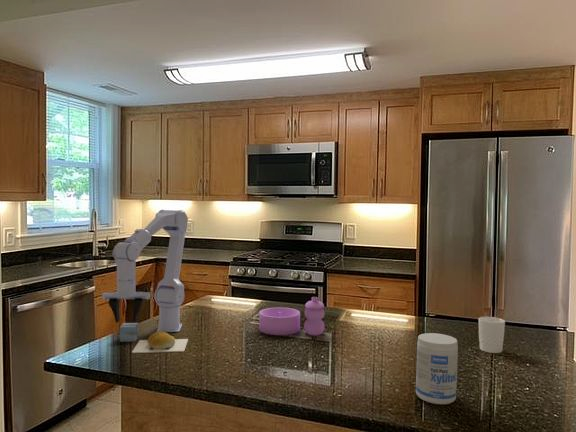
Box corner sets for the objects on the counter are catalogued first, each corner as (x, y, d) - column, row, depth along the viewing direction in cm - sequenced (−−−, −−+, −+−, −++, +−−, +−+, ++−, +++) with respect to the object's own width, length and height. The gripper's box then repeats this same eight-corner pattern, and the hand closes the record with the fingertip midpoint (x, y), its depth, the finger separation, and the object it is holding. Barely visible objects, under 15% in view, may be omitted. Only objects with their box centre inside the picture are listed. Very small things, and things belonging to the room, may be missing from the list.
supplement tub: (434, 408, 104) (435, 346, 103) (407, 392, 112) (408, 334, 112) (465, 401, 108) (466, 341, 107) (437, 386, 116) (438, 330, 116)
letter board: (139, 341, 151) (139, 340, 151) (188, 339, 153) (188, 338, 153) (131, 353, 139) (131, 352, 139) (184, 351, 141) (184, 350, 141)
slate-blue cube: (123, 337, 155) (123, 323, 155) (138, 337, 156) (138, 322, 155) (119, 341, 150) (119, 327, 150) (135, 341, 151) (135, 326, 151)
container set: (252, 332, 163) (252, 296, 162) (269, 322, 177) (269, 288, 177) (317, 340, 154) (318, 302, 153) (330, 329, 168) (330, 294, 167)
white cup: (483, 344, 152) (484, 315, 151) (507, 350, 146) (508, 319, 146) (473, 349, 146) (474, 319, 146) (498, 355, 140) (499, 324, 140)
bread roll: (156, 351, 140) (155, 338, 140) (144, 344, 146) (144, 332, 146) (180, 346, 145) (180, 333, 145) (167, 339, 152) (167, 327, 152)
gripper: (99, 282, 139) (99, 325, 139) (147, 281, 141) (147, 324, 141) (105, 278, 146) (105, 319, 146) (151, 277, 148) (151, 318, 148)
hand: (126, 321), depth 144 cm, fingers open, 5 cm apart
